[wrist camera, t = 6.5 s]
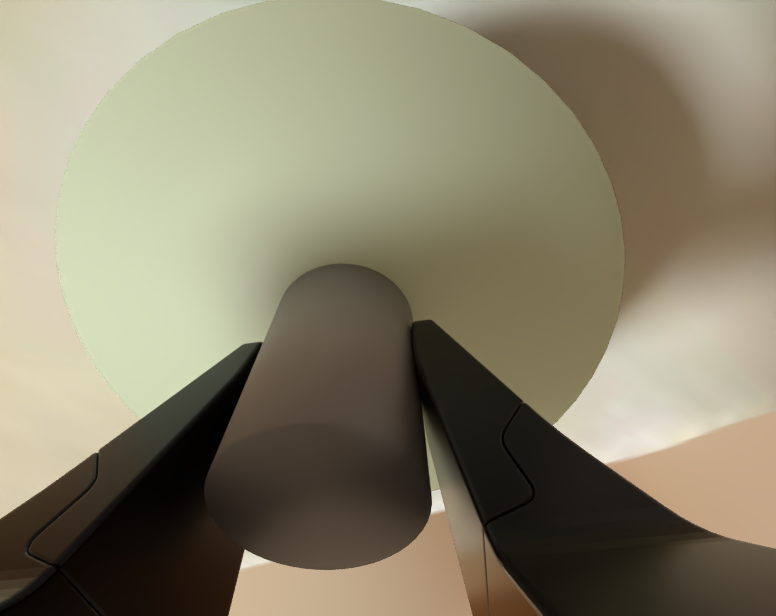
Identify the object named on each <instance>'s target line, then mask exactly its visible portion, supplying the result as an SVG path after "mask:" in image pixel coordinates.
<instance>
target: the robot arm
mask: <svg viewBox="0 0 776 616" xmlns="http://www.w3.org/2000/svg"><path fill="white" fill-rule="evenodd" d="M411 327H412V340H413V351H414V358H415V365H416V371H417V378H418V383H419V388H420V393H421V401H422V410H423V418H424V425H425V431H426V435H427V440H428V444H429V448H430V452H431V456H432V459H433V463H434V467H435V471H436V475H437V479H438V483H439V487H440V490H441V494H442V498H443V502H444V506H445V510H446V514H447V518H448V521H449V525H450V529H451V533H452V537H453V541H454V545H455V549H456V552H457V556H458V560H459V564H460V568H461V572H462V576H463V580H464V584H465V587H466V591H467V595H468V599H469V602H470V607H471V611H472V614H473V616H776V549H774V548H770V547H766V546H761V545H756V544H752V543H748V542H743V541H739V540H735V539H731V538H727V537H724V536H721V535H718V534H716V533H713V532H710V531H708V530H706V529H704V528H701V527H699V526H697V525H695V524H693V523H691V522H690V521H688V520H686V519H684V518H682V517H680V516H679V515H677V514H676V513H674V512H673V511H671V510H670V509H668V508H667V507H665V506H663V505H662V504H661V503H659V502H658V501H656V500H655V499H654V498H652V497H651V496H649V495H648V494H646V493H645V492H644V491H642V490H641V489H639V488H638V487H636V486H635V485H633V484H632V483H631V482H629V481H628V480H626V479H625V478H624V477H622V476H620V475H619V474H618V473H616V472H615V471H613V470H612V469H611V468H609V467H608V466H606V465H605V464H604V463H602V462H601V461H599V460H598V459H596V458H595V457H594V456H592V455H591V454H589V453H588V452H587V451H585V450H584V449H582V448H581V447H580V446H578V445H577V444H576V443H574V442H573V441H572V440H570V439H569V438H568V437H566V436H565V435H563V434H562V433H561V432H560V431H558V430H557V429H556V428H555V427H554V426H552V425H551V424H550V423H549V422H548V421H546V420H545V419H544V418H543V417H542V416H540V415H539V414H538V413H537V412H536V411H535V410H533V409H532V408H531V407H530V406H529V405H528V404H527V403H524V401H523V400H522V399H521V398H520V397H519V396H517V395H516V394H515V393H514V392H513V391H512V390H511V389H510V388H508V387H507V386H506V385H505V384H504V383H503V382H502V381H501V380H499V379H498V378H497V377H496V376H495V375H494V374H493V373H492V372H490V371H489V370H488V369H487V368H486V367H485V366H484V365H483V364H481V363H480V362H479V361H478V360H477V359H476V358H475V357H474V356H472V355H471V354H470V353H469V352H468V351H467V350H466V349H465V348H463V347H462V346H461V345H460V344H459V343H458V342H457V341H455V340H454V339H453V338H452V337H451V336H450V335H449V334H448V333H446V332H445V331H444V330H443V329H442V328H441V327H440V326H439V325H437V324H436V323H435V322H434V321H433V320H431V319H428V320H421V321H414V322H413V323H412V325H411ZM262 344H263V342H253V343H245V344H243V345H241V346H240V347H238V348H237V349H236V350H234V351H233V352H232V353H230V354H229V355H228V356H226V357H225V358H223V359H222V360H221V361H219V362H218V363H217V364H215V365H214V366H213V367H211V368H210V369H208V370H207V371H206V372H204V373H203V374H202V375H200V376H199V377H198V378H196V379H195V380H193V381H192V382H191V383H189V384H188V385H187V386H185V387H184V388H183V389H181V390H180V391H178V392H177V393H176V394H174V395H173V396H172V397H170V398H169V399H168V400H166V401H165V402H163V403H162V404H161V405H159V406H158V407H157V408H155V409H154V410H153V411H151V412H150V413H148V414H147V415H146V416H144V417H143V418H142V419H140V420H139V421H138V422H136V423H135V424H133V425H132V426H131V427H129V428H128V429H127V430H125V431H124V432H123V433H121V434H120V435H118V436H117V437H116V438H114V439H113V440H112V441H110V442H109V443H108V444H106V445H105V446H103V447H102V448H101V449H100V450H99V452H98V453H94V454H92V455H91V456H90V457H88V458H87V459H86V460H84V461H83V462H82V463H80V464H79V465H77V466H76V467H75V468H73V469H72V470H70V471H69V472H68V473H66V474H65V475H63V476H62V477H61V478H59V479H58V480H56V481H55V482H54V483H52V484H51V485H49V486H48V487H47V488H45V489H44V490H42V491H41V492H39V493H38V494H36V495H35V496H33V497H32V498H30V499H29V500H28V501H26V502H25V503H23V504H22V505H20V506H19V507H17V508H16V509H14V510H13V511H11V512H10V513H8V514H7V515H5V516H4V517H2V518H1V519H0V616H228V615H229V611H230V607H231V602H232V598H233V594H234V590H235V586H236V582H237V578H238V574H239V570H240V566H241V562H242V558H243V554H244V550H245V549H244V548H242V547H241V546H239V545H238V544H236V543H235V542H233V541H232V540H231V539H230V538H229V537H228V536H226V535H225V534H224V533H223V532H222V531H221V529H220V528H219V527H218V526H217V525H216V523H215V522H214V520H213V519H212V517H211V515H210V513H209V511H208V509H207V505H206V501H205V493H204V487H205V481H206V477H207V475H208V472H209V469H210V467H211V465H212V462H213V460H214V458H215V455H216V453H217V450H218V448H219V446H220V443H221V441H222V439H223V436H224V434H225V431H226V429H227V427H228V424H229V422H230V420H231V417H232V415H233V412H234V410H235V408H236V405H237V403H238V401H239V398H240V396H241V393H242V391H243V389H244V386H245V384H246V382H247V379H248V377H249V375H250V372H251V370H252V367H253V365H254V363H255V360H256V358H257V356H258V353H259V351H260V348H261V346H262Z"/></svg>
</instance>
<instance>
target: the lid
mask: <svg viewBox="0 0 776 616" xmlns="http://www.w3.org/2000/svg"><path fill="white" fill-rule="evenodd" d="M55 238H56V255H57V268H58V273H59V278H60V282H61V287H62V292H63V296H64V301H65V303H66V306H67V309H68V312H69V314H70V317H71V320H72V323H73V325H74V328H75V331H76V333H77V335H78V337H79V339H80V340H81V342H82V344H83V346H84V348H85V350H86V352H87V354H88V356H89V358H90V360H91V361H92V362H93V364H94V365H95V367H96V368H97V370H98V371H99V373H100V374H101V376H102V377H103V378H104V380H105V381H106V383H107V384H108V386H109V387H110V388H111V389H112V390H113V391H114V392H115V394H116V395H117V396H118V397H119V398H120V399H121V400H122V402H123V403H124V404H125V405H126V406H127V407H128V408H129V409H130V410H131V411H132V412H133V413H134V414H135V415H136V416H137V417H138V418H139V419H142V418H143V417H144V416H146V415H147V414H148V413H150V412H151V411H153V410H154V409H155V408H157V407H158V406H159V405H161V404H162V403H163V402H165V401H166V400H168V399H169V398H170V397H172V396H173V395H174V394H176V393H177V392H178V391H180V390H181V389H183V388H184V387H185V386H187V385H188V384H189V383H191V382H192V381H193V380H195V379H196V378H198V377H199V376H200V375H202V374H203V373H204V372H206V371H207V370H208V369H210V368H211V367H213V366H214V365H215V364H217V363H218V362H219V361H221V360H222V359H223V358H225V357H226V356H228V355H229V354H230V353H232V352H233V351H234V350H236V349H237V348H238V347H240V346H241V345H243V344H245V343H253V342H263V344H262V346H261V348H260V351H259V353H258V356H257V358H256V360H255V363H254V365H253V367H252V370H251V372H250V375H249V377H248V379H247V382H246V384H245V386H244V389H243V391H242V393H241V396H240V398H239V401H238V403H237V405H236V408H235V410H234V412H233V415H232V417H231V420H230V422H229V424H228V427H227V429H226V431H225V434H224V436H223V439H222V441H221V443H220V446H219V448H218V450H217V453H216V455H215V458H214V460H213V462H212V465H211V467H210V469H209V472H208V475H207V477H206V481H205V487H204V493H205V501H206V505H207V509H208V511H209V513H210V515H211V517H212V519H213V520H214V522H215V523H216V525H217V526H218V527H219V528H220V529H221V531H222V532H223V533H224V534H225V535H226V536H228V537H229V538H230V539H231V540H232V541H233V542H235V543H236V544H238V545H239V546H241V547H242V548H244V549H246V550H247V551H249V552H251V553H253V554H255V555H257V556H260V557H262V558H264V559H267V560H270V561H273V562H276V563H280V564H283V565H288V566H293V567H299V568H305V569H316V570H334V569H346V568H354V567H359V566H363V565H367V564H371V563H374V562H377V561H380V560H383V559H385V558H387V557H390V556H392V555H393V554H395V553H397V552H399V551H401V550H402V549H403V548H405V547H406V546H408V545H409V544H410V543H411V542H412V541H413V540H414V539H415V538H416V537H417V536H418V535H419V534H420V533H421V531H422V530H423V528H424V527H425V525H426V523H427V521H428V519H429V516H430V513H431V506H432V497H431V491H434V490H438V489H440V487H439V483H438V479H437V475H436V471H435V467H434V463H433V459H432V456H431V452H430V448H429V444H428V440H427V435H426V431H425V425H424V418H423V410H422V401H421V393H420V388H419V383H418V378H417V371H416V365H415V358H414V351H413V340H412V327H411V325H412V323H413V322H414V321H421V320H428V319H431V320H433V321H434V322H435V323H436V324H437V325H439V326H440V327H441V328H442V329H443V330H444V331H445V332H446V333H448V334H449V335H450V336H451V337H452V338H453V339H454V340H455V341H457V342H458V343H459V344H460V345H461V346H462V347H463V348H465V349H466V350H467V351H468V352H469V353H470V354H471V355H472V356H474V357H475V358H476V359H477V360H478V361H479V362H480V363H481V364H483V365H484V366H485V367H486V368H487V369H488V370H489V371H490V372H492V373H493V374H494V375H495V376H496V377H497V378H498V379H499V380H501V381H502V382H503V383H504V384H505V385H506V386H507V387H508V388H510V389H511V390H512V391H513V392H514V393H515V394H516V395H517V396H519V397H520V398H521V399H522V400H523V401H524V403H527V404H528V405H529V406H530V407H531V408H532V409H533V410H535V411H536V412H537V413H538V414H539V415H540V416H542V417H543V418H544V419H545V420H546V421H548V422H549V423H550V424H551V425H553V424H555V423H556V422H557V421H558V420H559V419H560V417H561V416H562V415H563V414H564V413H565V412H566V411H567V410H568V408H569V407H570V406H571V405H572V404H573V403H574V402H575V401H576V399H577V398H578V396H579V395H580V394H581V392H582V391H583V389H584V388H585V386H586V385H587V384H588V382H589V381H590V379H591V378H592V376H593V375H594V373H595V371H596V369H597V367H598V365H599V363H600V361H601V359H602V357H603V355H604V353H605V351H606V349H607V347H608V344H609V341H610V338H611V335H612V333H613V330H614V327H615V324H616V321H617V317H618V312H619V308H620V303H621V298H622V293H623V286H624V267H625V249H624V239H623V229H622V220H621V216H620V212H619V208H618V205H617V201H616V197H615V193H614V189H613V186H612V183H611V181H610V178H609V176H608V174H607V171H606V169H605V167H604V165H603V162H602V160H601V158H600V156H599V153H598V151H597V149H596V147H595V145H594V144H593V142H592V141H591V139H590V138H589V136H588V135H587V133H586V132H585V130H584V128H583V127H582V125H581V124H580V122H579V121H578V119H577V118H576V116H575V115H574V113H573V112H572V111H571V110H570V109H569V107H568V106H567V105H566V104H565V103H564V102H563V101H562V100H561V99H560V97H559V96H558V95H557V94H556V93H555V92H554V91H553V90H552V89H551V87H550V86H549V85H548V84H547V83H546V82H545V81H544V80H543V79H542V78H541V77H539V76H538V75H537V74H536V73H534V72H533V71H532V70H531V69H529V68H528V67H527V66H526V65H525V64H523V63H522V62H521V61H520V60H518V59H517V58H516V57H515V56H513V55H512V54H511V53H510V52H509V51H507V50H505V49H503V48H502V47H500V46H498V45H497V44H495V43H493V42H491V41H490V40H488V39H486V38H484V37H483V36H481V35H479V34H478V33H476V32H474V31H472V30H471V29H469V28H467V27H465V26H463V25H460V24H457V23H455V22H452V21H450V20H447V19H444V18H442V17H439V16H437V15H434V14H432V13H429V12H426V11H424V10H421V9H418V8H413V7H409V6H404V5H399V4H395V3H390V2H385V1H381V0H269V1H265V2H261V3H258V4H254V5H251V6H247V7H243V8H240V9H236V10H232V11H229V12H225V13H221V14H219V15H217V16H215V17H213V18H210V19H208V20H206V21H204V22H202V23H200V24H197V25H195V26H193V27H191V28H189V29H187V30H185V31H182V32H180V33H178V34H176V35H175V36H174V37H172V38H171V39H169V40H168V41H166V42H165V43H163V44H162V45H161V46H159V47H158V48H156V49H155V50H153V51H152V52H150V53H149V54H148V55H146V56H145V57H143V58H142V59H140V60H139V61H138V62H137V63H136V64H135V65H134V66H133V67H132V68H131V69H130V70H129V71H128V72H127V73H126V74H125V75H124V76H123V77H122V78H121V79H120V80H119V81H118V82H117V83H116V84H115V85H114V86H113V87H112V88H111V89H110V90H109V91H108V93H107V94H106V96H105V97H104V98H103V100H102V101H101V103H100V104H99V105H98V107H97V108H96V110H95V111H94V113H93V114H92V115H91V117H90V118H89V120H88V121H87V122H86V124H85V126H84V128H83V130H82V132H81V134H80V137H79V139H78V141H77V143H76V145H75V147H74V149H73V152H72V154H71V156H70V158H69V160H68V164H67V168H66V171H65V175H64V179H63V182H62V186H61V190H60V193H59V198H58V209H57V219H56V229H55Z"/></svg>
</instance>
